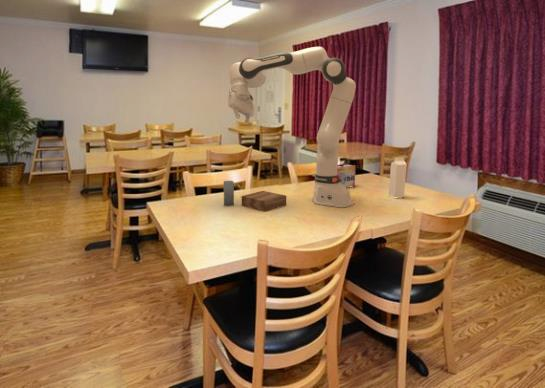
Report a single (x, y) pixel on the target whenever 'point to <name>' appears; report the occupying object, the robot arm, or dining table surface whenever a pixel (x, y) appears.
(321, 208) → the dining table surface
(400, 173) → the milk
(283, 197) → the walnut base
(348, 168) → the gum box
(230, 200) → the grey rectangular block
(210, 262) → the dining table surface
